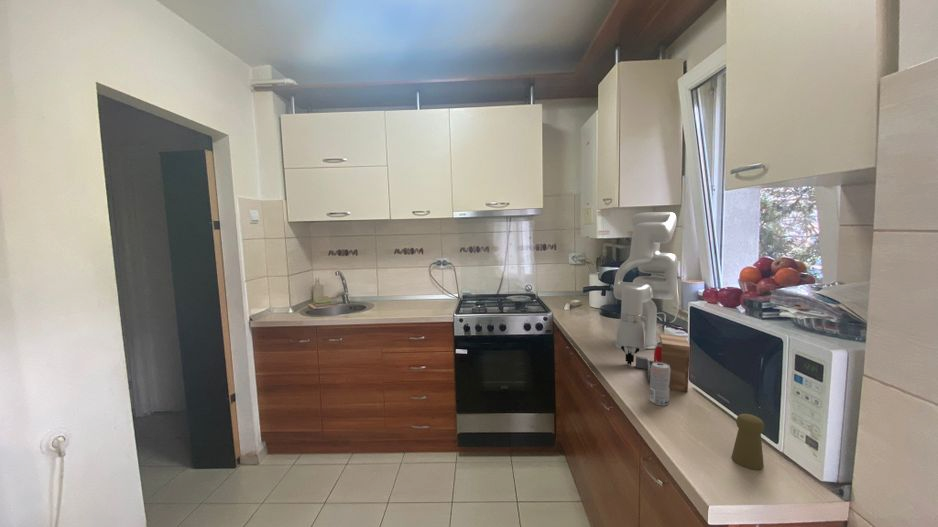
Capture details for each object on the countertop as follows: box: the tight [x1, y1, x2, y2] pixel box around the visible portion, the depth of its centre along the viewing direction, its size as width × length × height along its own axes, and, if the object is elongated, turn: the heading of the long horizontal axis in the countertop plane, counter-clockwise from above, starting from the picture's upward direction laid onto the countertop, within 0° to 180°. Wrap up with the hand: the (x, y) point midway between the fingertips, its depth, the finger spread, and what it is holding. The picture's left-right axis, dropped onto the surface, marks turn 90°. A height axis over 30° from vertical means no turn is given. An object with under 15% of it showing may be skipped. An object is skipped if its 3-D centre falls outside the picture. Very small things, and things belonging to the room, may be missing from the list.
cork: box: [731, 413, 765, 471], centre depth 85 cm, size 6×6×11 cm
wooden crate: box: [659, 333, 691, 393], centre depth 127 cm, size 12×8×16 cm, turn 156°
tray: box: [635, 355, 654, 384], centre depth 133 cm, size 15×14×4 cm
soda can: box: [653, 341, 662, 362], centre depth 130 cm, size 7×7×12 cm
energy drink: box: [649, 362, 671, 407], centre depth 114 cm, size 5×5×12 cm
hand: (629, 363), depth 143 cm, fingers closed
